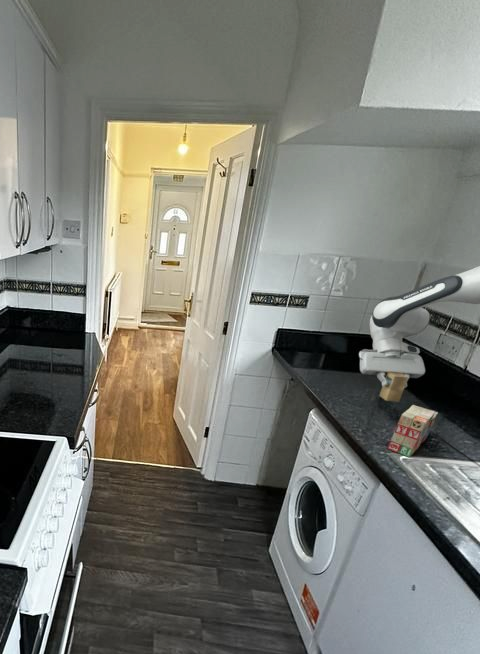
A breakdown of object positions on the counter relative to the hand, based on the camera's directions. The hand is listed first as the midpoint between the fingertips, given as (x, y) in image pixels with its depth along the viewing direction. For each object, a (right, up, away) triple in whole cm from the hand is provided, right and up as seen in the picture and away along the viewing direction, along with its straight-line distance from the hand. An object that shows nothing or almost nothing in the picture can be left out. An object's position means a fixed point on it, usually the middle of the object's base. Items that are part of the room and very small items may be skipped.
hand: (394, 386), depth 142 cm
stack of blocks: (-2, -19, -8) cm, 20 cm away
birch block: (0, -4, +3) cm, 5 cm away
